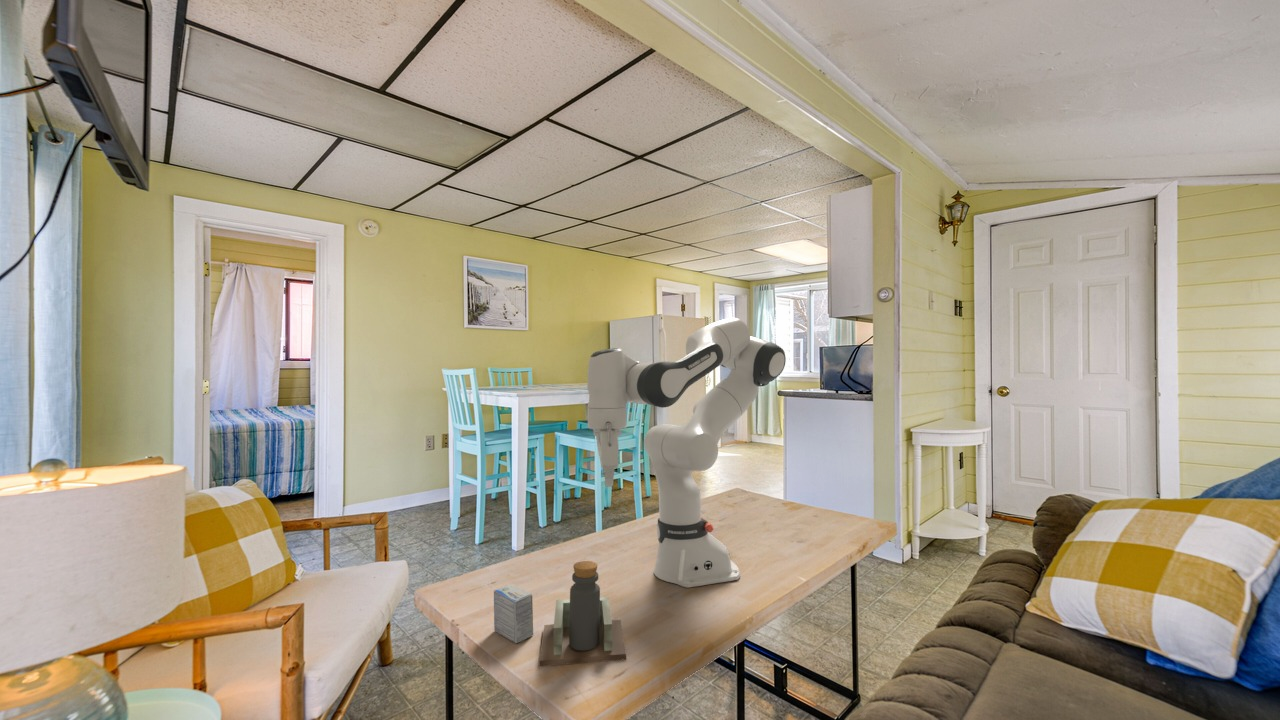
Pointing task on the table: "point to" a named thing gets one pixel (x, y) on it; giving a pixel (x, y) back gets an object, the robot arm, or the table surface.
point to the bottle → (584, 607)
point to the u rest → (561, 652)
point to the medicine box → (513, 613)
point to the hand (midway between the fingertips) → (607, 481)
